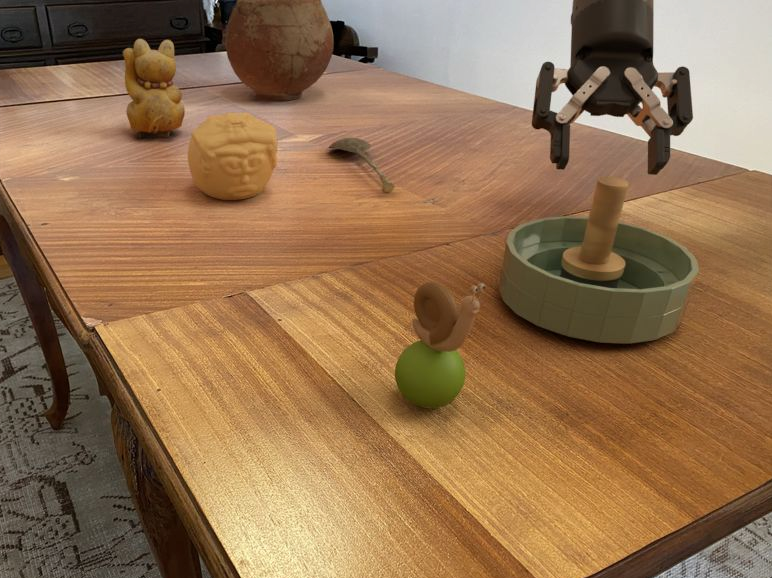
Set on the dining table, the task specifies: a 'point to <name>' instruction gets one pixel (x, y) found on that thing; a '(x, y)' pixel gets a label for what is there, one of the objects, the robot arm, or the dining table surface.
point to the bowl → (595, 303)
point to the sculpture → (232, 155)
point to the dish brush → (599, 239)
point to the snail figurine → (436, 346)
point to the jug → (279, 45)
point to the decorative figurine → (152, 90)
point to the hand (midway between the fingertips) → (609, 168)
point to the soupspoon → (358, 148)
